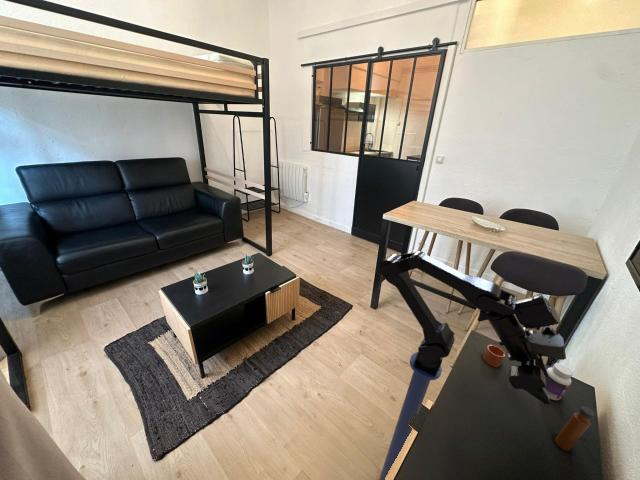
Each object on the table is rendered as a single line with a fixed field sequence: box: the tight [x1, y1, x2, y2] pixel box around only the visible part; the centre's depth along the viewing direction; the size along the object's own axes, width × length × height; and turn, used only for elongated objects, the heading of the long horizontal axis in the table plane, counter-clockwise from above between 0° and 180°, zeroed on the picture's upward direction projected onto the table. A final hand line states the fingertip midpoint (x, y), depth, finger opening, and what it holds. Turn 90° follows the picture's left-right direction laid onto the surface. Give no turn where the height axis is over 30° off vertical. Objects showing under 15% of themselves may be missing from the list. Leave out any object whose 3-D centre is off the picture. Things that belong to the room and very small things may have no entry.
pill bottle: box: [544, 362, 574, 401], centre depth 73 cm, size 5×5×10 cm
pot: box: [482, 344, 506, 368], centre depth 83 cm, size 5×5×4 cm
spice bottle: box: [554, 405, 596, 452], centre depth 59 cm, size 3×3×13 cm
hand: (547, 389), depth 60 cm, fingers open, 9 cm apart
